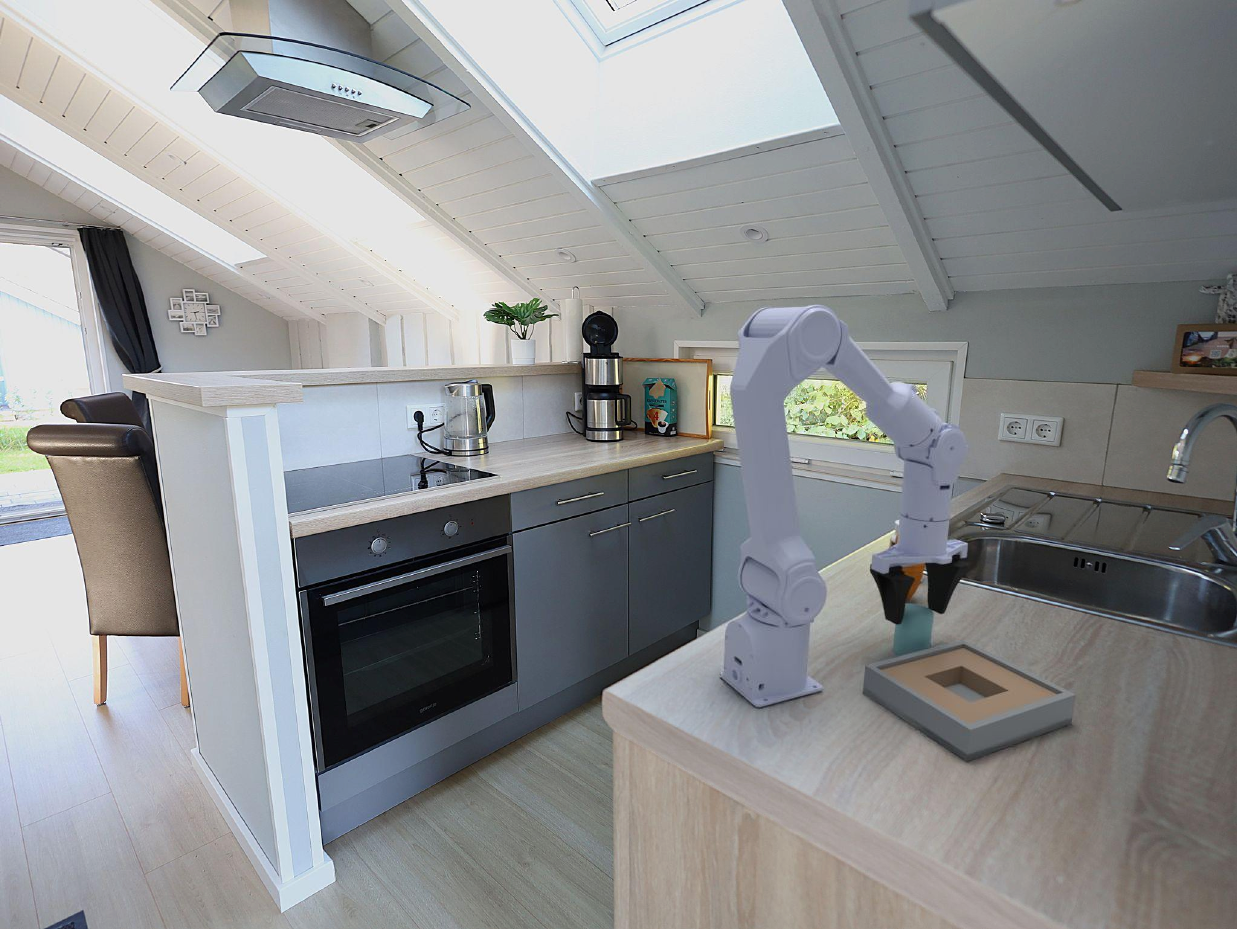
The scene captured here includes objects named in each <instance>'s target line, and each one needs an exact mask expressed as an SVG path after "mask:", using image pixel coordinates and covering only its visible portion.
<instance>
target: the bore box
mask: <svg viewBox="0 0 1237 929" xmlns="http://www.w3.org/2000/svg"><path fill="white" fill-rule="evenodd" d="M863 674H864V675H863V684H862V685H863V686H862V693H863V694H864V695H866V696H867V697H869V698H870V699H871V700H873V701H875V702H876V703H878V704H879V705H881V706H882V707H883V708H884V709H887V710H888V711H890V712H891V713H893V714H894V715H896V716H897V717H899V718H901V719H902V720H903V721H904V722H906V723H908V724H909V725H911V726H912V727H913V728H915V729H916V730H918V731H920V732H921V733H922V734H925V735H926V736H927V737H929V738H930V739H932V740H933V741H935V742H936V743H938V744H939V745H941V746H943V747H944V748H945V749H946V750H948V751H950V752H952V753H953V754H954V755H955V756H957V757H959V758H960V759H962V760H963V761H965V762H968V763H969V762H970V761H973V760H976V759H979V758H982V757H984V756H987V755H990V754H992V753H996V752H998V751H1000V750H1001V751H1002V750H1003V749H1007V748H1009V747H1012V746H1015V745H1017V744H1020V743H1024V742H1026V741H1028V740H1031V739H1034V738H1037V737H1040V736H1043V735H1044V734H1048V733H1051V732H1053V731H1056V730H1059V729H1061V728H1064V727H1067V726H1070V725H1072V724H1073V722H1072V721H1073V717H1074V710H1075V705H1076V704H1075V703H1076V698H1077V697H1076V696H1077V694H1076V693H1074V692H1071V691H1070V690H1068V689H1065V688H1063V687H1061V686H1059V685H1057V684H1055V683H1053V682H1052V681H1050V680H1047V679H1045V678H1043V677H1041V676H1039V675H1037V674H1036V673H1035V674H1034V673H1033V672H1030V671H1028V670H1027V669H1024V668H1022V667H1020V666H1018V665H1016V664H1013V663H1012V662H1010V661H1008V660H1006V659H1004V658H1001V657H999V656H997V655H995V654H993V653H992V652H989V651H987V650H985V649H983V648H980V647H979V646H976V645H974V644H973V643H970V642H968V641H966V640H964V639H961V640H956V641H953V642H949V643H945V644H940V645H937V646H933V647H930V648H929V649H925V650H922V651H918V652H914V653H910V654H906V655H902V656H894V657H890V658H887V659H883V660H879V661H876V662H872V663H868V664H865V665H864V673H863Z"/></svg>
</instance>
